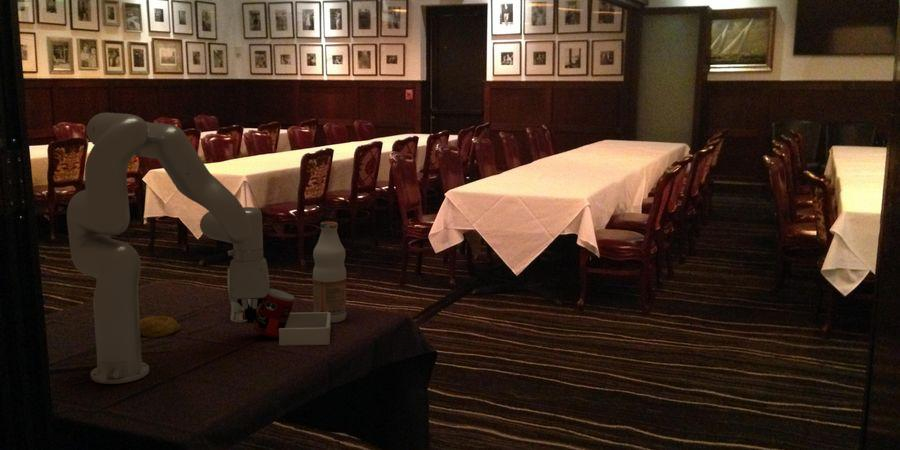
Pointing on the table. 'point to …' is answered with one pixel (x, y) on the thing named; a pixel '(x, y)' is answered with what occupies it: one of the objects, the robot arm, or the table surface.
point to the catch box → (306, 329)
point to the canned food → (273, 312)
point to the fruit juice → (329, 273)
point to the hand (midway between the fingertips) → (250, 322)
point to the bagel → (158, 326)
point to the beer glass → (237, 308)
